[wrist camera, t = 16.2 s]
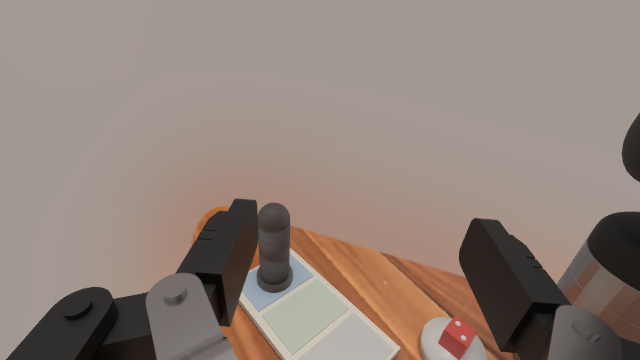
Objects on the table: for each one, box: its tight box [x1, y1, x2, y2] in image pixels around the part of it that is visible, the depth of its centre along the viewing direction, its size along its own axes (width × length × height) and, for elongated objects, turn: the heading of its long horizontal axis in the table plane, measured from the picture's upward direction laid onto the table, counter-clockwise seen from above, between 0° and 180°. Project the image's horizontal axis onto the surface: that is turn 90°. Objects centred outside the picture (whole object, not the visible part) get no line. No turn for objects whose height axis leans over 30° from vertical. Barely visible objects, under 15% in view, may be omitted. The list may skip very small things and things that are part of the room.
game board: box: [238, 248, 400, 360], centre depth 38 cm, size 11×21×1 cm, turn 42°
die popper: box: [419, 316, 487, 360], centre depth 34 cm, size 7×7×5 cm
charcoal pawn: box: [257, 203, 293, 293], centre depth 39 cm, size 5×5×12 cm
